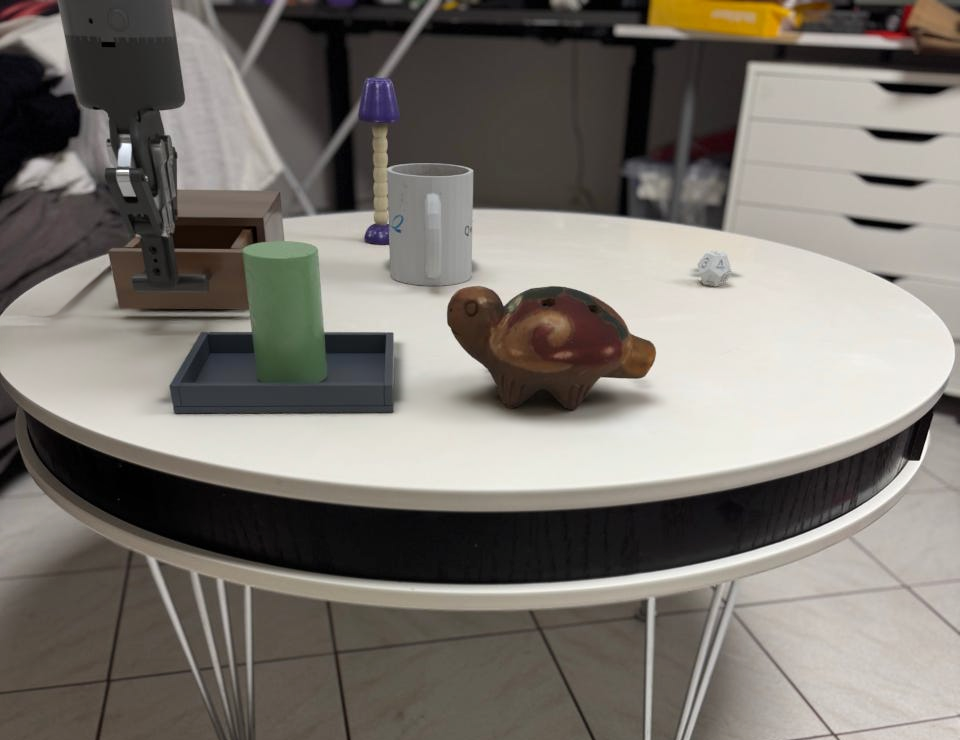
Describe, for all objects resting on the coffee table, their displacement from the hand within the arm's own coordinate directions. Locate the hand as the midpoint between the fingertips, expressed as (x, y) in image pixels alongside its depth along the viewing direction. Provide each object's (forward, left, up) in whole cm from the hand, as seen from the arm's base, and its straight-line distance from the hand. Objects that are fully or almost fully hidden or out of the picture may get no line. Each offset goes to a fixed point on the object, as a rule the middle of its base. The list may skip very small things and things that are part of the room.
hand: (164, 285), depth 74 cm
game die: (+52, +19, -5) cm, 56 cm away
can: (+11, -11, -4) cm, 16 cm away
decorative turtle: (+30, -14, -5) cm, 33 cm away
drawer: (0, +10, -4) cm, 11 cm away
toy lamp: (+17, +38, -5) cm, 42 cm away
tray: (+11, -11, -4) cm, 16 cm away
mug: (+22, +20, -4) cm, 30 cm away
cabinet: (0, +23, -4) cm, 24 cm away
